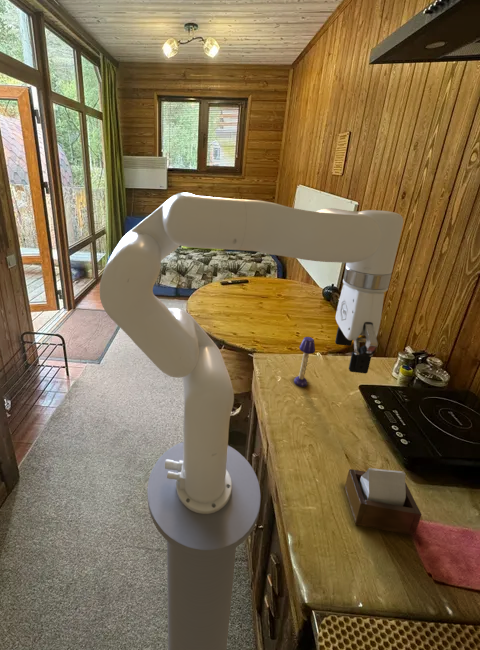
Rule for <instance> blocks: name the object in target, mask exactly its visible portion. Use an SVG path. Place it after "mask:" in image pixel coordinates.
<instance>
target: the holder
mask: <svg viewBox="0 0 480 650" xmlns="http://www.w3.org/2000/svg"><path fill="white" fill-rule="evenodd" d="M365 472H366V470H365V471H364V470H359V469H353V468H349V469H348V473H347V476H346V481H345V486H344V491H345V495H346V499H347V503H348V505H349V508H350V511H351V512H350V513H351V515H352V518H353V521H354V525H358V526H362V527H367V528H373V529H378V530H382V531H389V532H393V533H399V534H404V535H409V536H415V534H416V532H417V529H418V526H419V523H420V520H421V518H422V512H421V510H420V509H419V506H418V505H417V503H416V500H415V498H414V497H413V495H412V492H411V490H410V489H409V487H408V484H407V483H406V481H405V489H406V498H405V502H404V505H403V506H398V505H392V504H386V503H381V502H375V501H370V500H364V497H363V494H362V491H361V489H360V486H359V482H360V478H361V476H362V475H363V474H364V473H365Z"/></svg>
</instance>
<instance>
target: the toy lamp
mask: <svg viewBox="0 0 480 650" xmlns="http://www.w3.org/2000/svg"><path fill="white" fill-rule="evenodd" d="M299 350H300V351H301V352H302V353H303V354H302V358H301V363H300V368H299V369H300V370H299V374H298V376H295V378H294V379H293V383H294V384H295V385H296V386H298V387H302V388H306V387H307V386H308V381H307V379H306V378H305V375H306V371H307V366H308V362H309V357H310V356H309V355H312V354H314V353H315V352H316V346H315V339H314V338H313V337H311V336H305V337H303V339H302V341H301V343H300V345H299Z"/></svg>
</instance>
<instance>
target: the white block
mask: <svg viewBox="0 0 480 650" xmlns="http://www.w3.org/2000/svg"><path fill="white" fill-rule="evenodd" d="M406 475H407V473H406V472H405V471H401V470H391V469H382V468H380V469H379V468H372V467H368V468H367V470H365V473H364V474H363V475H362V476H361V478H360V482H359V486H360V489H361V491H362V494H363V497H364V500H370V501H375V502H381V503H386V504H392V505H398V506H403V505H404V502H405V498H406V489H405V482H406Z"/></svg>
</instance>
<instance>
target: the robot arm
mask: <svg viewBox="0 0 480 650" xmlns="http://www.w3.org/2000/svg"><path fill="white" fill-rule="evenodd" d="M403 226H404V217H403V216H402V215H401V214H400V213H398V212H395V211H394V212H393V211H389V210H378V209H366V210H361V211H359V210H358V211H357V210H356V211H355V210H347V209H339V208H335V207H334V208H333V207H325V208H321V209H319V210H316V211H313V210H305V209H302V208H301V209H300V208H295V207H290V206H287V205H282V204H280V203H277V202H276V203H275V202H271V201H266V200H259V199H242V198H240V199H239V198H229V197H216V196H214V197H213V196H206V195H196V194H193V193H191V192H178V193H176V194H174V195H172V196H171V197H169V198H168V199H167V200H166V201H164V202H163V203H162V204H160V206H159V207H158V208H156V209H155V210H154V211H153V212H151V214H149V215H148V216H146V217H145V218H144V219H143V220H142V221H140V222H139V223H137V225H135V226H134V227H132V229H130V230H129V231H128V232H127V233H125V235H123V236H122V238H121V239H120V240H119V242H118V243H117V245H116V246H115V248H114V249H113V250H112V253H111V255H110V256H109V258H108V261H107V263H106V265H105V267H104V269H103V272H102V274H101V278H100V282H99V289H98V290H99V299H100V303H101V305H102V309H104V312H105V313H106V314H107V315H108V317H109V318H110V319H111V320H112V321H113V322H114V323H115V325H116V326H118V327H119V328H120V329H121V330H122V331H123V332H124V333H125V334H126V335H127V336H128V337H129V338H130V340H131V341H132V342H133V343H134V344H135V346H137V348H139V350H140V351H141V352H142V353H143V354H144V355H145V356H146V357H147V358H148V359H149V360H150V361H151V362H152V364H153V365H154V366H155V367H157V369H159V371H161V372H162V373H163V374H165V375H167V376H169V377H170V378H175V379H176V378H178V379H181V378H182V385H183V403H184V404H183V406H184V407H183V420H182V421H183V424H182V425H183V426H182V427H183V428H182V432H183V435H182V436H183V438H182V439H183V441H182V442H183V461H182V460H180V461H179V462H177V461H174V460H169V459H166V461H165V469H170V470H177V471H178V473H174V472H170V471H168V474H167V478H168V479H175V480H176V490H177V494H178V497H179V499H180V500H181V502H182V503H183V504H184V505H185V506H186V507H187V508H188V509H190V510H191V511H194V512H196V513H201V514H210V513H214V512H216V511H219V510H220V509H221V508H223V507H224V506H225V505H226V504H227V502H228V500H229V499H230V496H231V490H232V482H231V477H230V475H229V473H228V471H227V470H226V463H227V449H228V446H229V433H230V432H229V429H230V422H231V421H230V419H231V415H232V411H233V407H234V402H235V393H234V388H233V383H232V380H231V377H230V374H229V371H228V368H227V366H226V362H225V360H224V357H223V354H222V353H221V350H220V348H219V347H218V346H217V344H216V343H215V341H213V340H212V338H211V337H210V336H209V334H208V333H207V332H206V331H205V330H204V328H203V327H201V326H200V324H199V323H198V322H197V320H196V319H195V318H194V317H193V316H192V315H191V314H190V313H189V312H187V311H185V310H184V309H182V308H177V307H167V305H166V304H165V303H164V302H163V301H162V300H161V299H160V298H158V297H157V296H156V295H155V294H154V291H153V290H154V286H155V283H156V282H157V279H158V278H159V275H160V272H161V268H162V267H161V263H162V261H163V260H164V259H165V258H166V257H168V256H169V255H171V254H172V253H173V252H175V250H177V249H178V248H179V247H180V246H181V247H186V248H194V249H195V248H197V249H212V250H231V251H246V252H256V253H257V252H258V253H262V254H267V255H272V256H280V257H286V258H292V259H296V260H297V259H298V260H305V261H311V262H320V263H321V262H323V263H338V264H339V263H341V264H345V268H344V273H343V278H342V283H343V284H342V288H341V291H340V295H339V299H338V303H337V308H336V313H335V321H336V324H337V325H338V326H337V331H336V336H335V340H334V342H335V345H337V346H344V347H345V346H346V347H351V346H352V344H353V349H354V350H353V351H352V352H351V355H350V359H349V360H350V361H349V365H348V370H349V372H350V373H357V374H365V375H366V374H368V373H369V369H370V364H371V359H372V357H373V356H374V354H375V352H376V349H377V348H378V347H379V346H378V345H379V343H378V339H377V337H378V333H379V331H380V325H381V321H382V313H383V307H384V299H385V292H388V290H389V286H390V283H391V278H392V273H393V270H394V265H395V262H396V261H395V260H396V256H397V252H398V247H399V244H400V239H401V236H402V231H403ZM360 336H362V337H360ZM360 343H365V344H364V345H362V346H361V347H360ZM213 507H214V508H213Z"/></svg>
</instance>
